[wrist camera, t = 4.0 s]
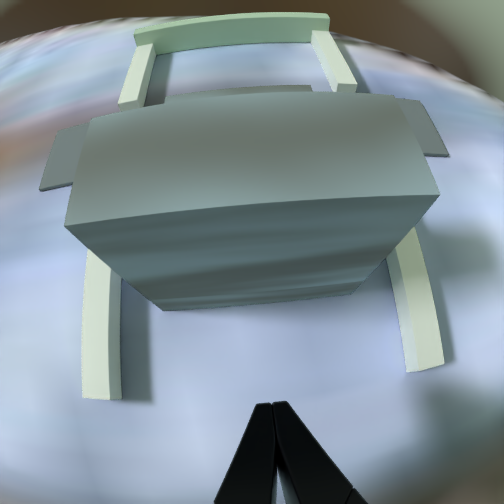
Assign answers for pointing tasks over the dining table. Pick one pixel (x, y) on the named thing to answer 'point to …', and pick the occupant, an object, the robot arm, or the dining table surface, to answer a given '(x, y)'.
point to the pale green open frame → (133, 96)
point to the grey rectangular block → (249, 194)
